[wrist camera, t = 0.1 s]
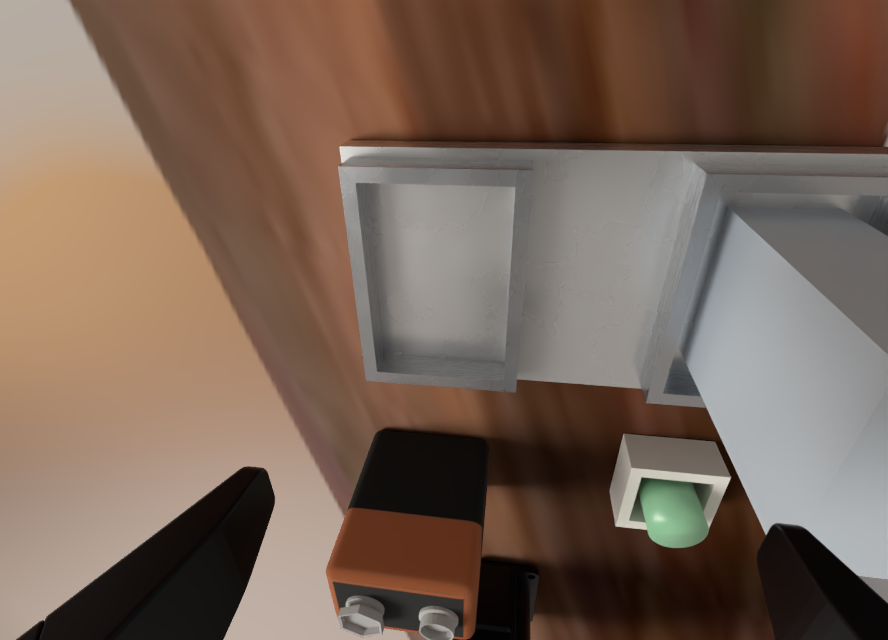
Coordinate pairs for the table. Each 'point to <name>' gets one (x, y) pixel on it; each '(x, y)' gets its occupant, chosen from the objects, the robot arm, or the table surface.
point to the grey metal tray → (562, 252)
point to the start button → (672, 512)
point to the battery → (413, 538)
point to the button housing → (665, 473)
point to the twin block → (802, 372)
